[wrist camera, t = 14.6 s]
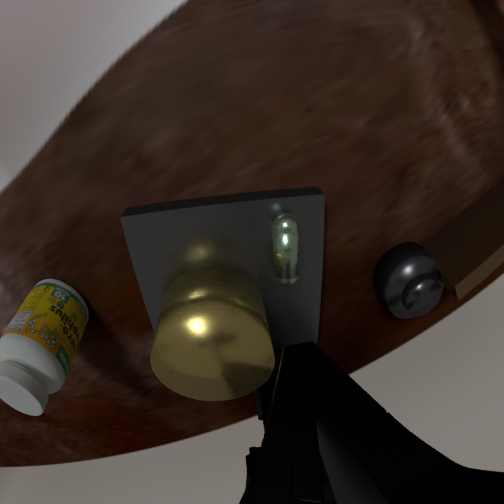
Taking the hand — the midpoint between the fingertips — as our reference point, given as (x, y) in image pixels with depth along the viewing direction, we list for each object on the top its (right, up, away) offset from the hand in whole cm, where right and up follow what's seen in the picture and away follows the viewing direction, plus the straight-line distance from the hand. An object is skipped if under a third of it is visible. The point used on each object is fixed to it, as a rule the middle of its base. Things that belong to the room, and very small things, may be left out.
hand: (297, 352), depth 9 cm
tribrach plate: (-3, +1, +13) cm, 13 cm away
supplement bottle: (-17, -1, +13) cm, 21 cm away
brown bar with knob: (+16, +6, +12) cm, 21 cm away
